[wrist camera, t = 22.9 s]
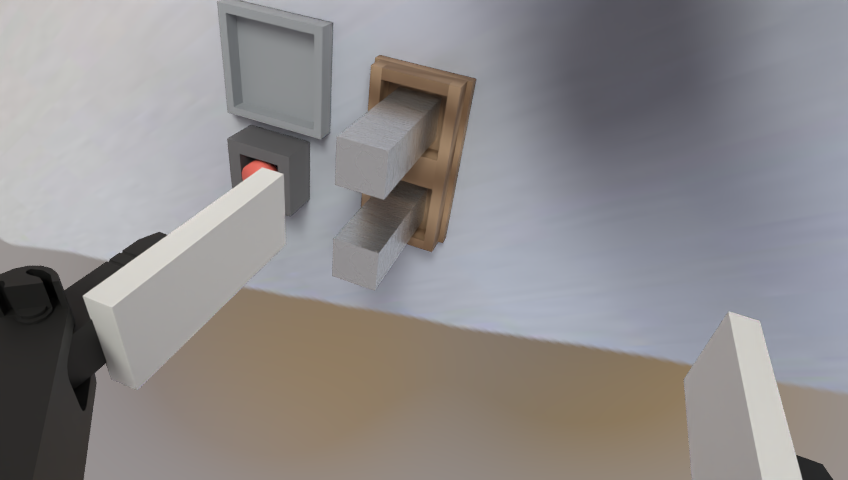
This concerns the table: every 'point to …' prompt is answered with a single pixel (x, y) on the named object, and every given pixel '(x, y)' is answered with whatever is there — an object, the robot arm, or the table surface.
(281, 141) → the button housing
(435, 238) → the wooden tray
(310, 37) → the tray
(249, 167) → the button
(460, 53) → the table surface
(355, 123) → the billet
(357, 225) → the block
